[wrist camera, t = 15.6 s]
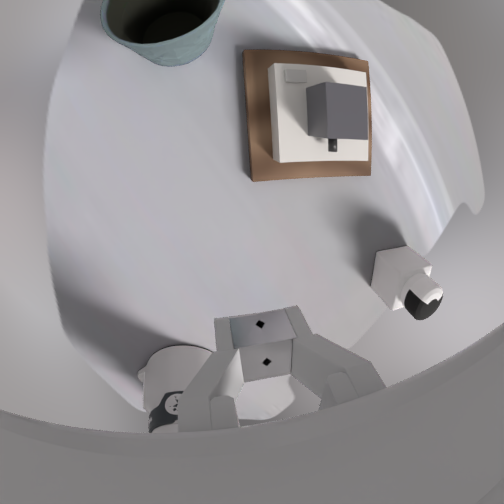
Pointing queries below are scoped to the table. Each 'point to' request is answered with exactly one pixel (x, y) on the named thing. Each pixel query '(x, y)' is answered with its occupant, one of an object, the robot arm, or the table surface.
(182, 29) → the teal cup
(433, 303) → the medicine bottle
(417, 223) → the table surface
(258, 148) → the mounting board
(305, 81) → the socket
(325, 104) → the plug
